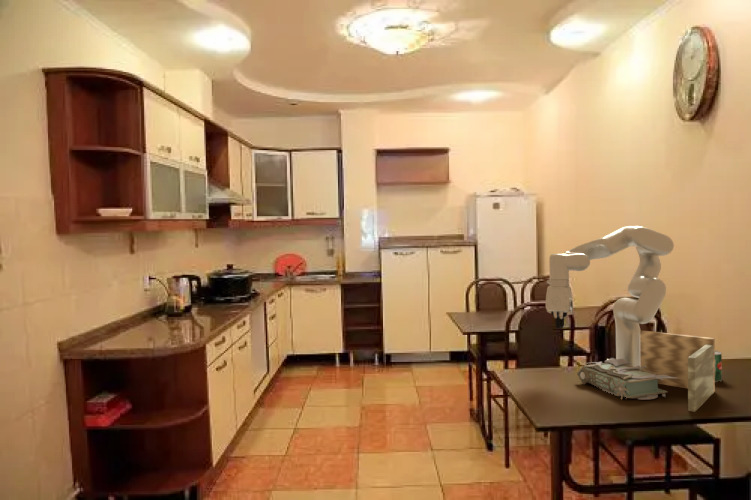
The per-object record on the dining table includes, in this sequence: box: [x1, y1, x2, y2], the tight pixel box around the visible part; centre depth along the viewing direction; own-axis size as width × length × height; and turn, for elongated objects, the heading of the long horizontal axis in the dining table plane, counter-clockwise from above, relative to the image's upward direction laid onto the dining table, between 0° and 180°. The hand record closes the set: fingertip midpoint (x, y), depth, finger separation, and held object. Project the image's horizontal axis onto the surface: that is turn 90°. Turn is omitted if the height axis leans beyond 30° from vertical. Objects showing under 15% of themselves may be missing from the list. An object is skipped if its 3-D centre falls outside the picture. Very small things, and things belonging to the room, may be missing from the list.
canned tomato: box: [715, 350, 723, 383], centre depth 207 cm, size 8×8×11 cm
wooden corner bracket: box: [640, 330, 716, 413], centre depth 190 cm, size 25×28×20 cm
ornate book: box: [576, 357, 675, 401], centre depth 198 cm, size 23×10×30 cm
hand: (559, 327), depth 214 cm, fingers closed
